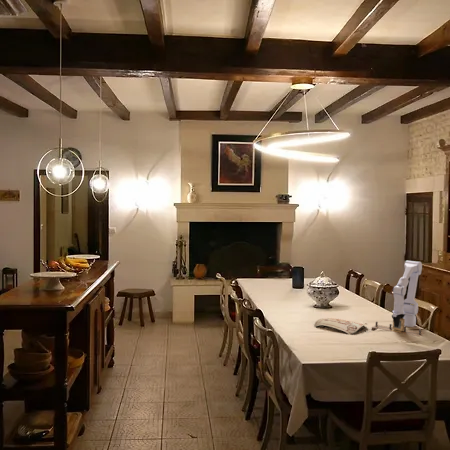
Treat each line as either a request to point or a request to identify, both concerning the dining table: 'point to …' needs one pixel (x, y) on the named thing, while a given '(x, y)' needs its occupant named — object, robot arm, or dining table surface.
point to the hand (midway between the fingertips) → (397, 326)
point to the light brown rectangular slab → (401, 325)
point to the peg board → (397, 330)
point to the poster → (340, 324)
